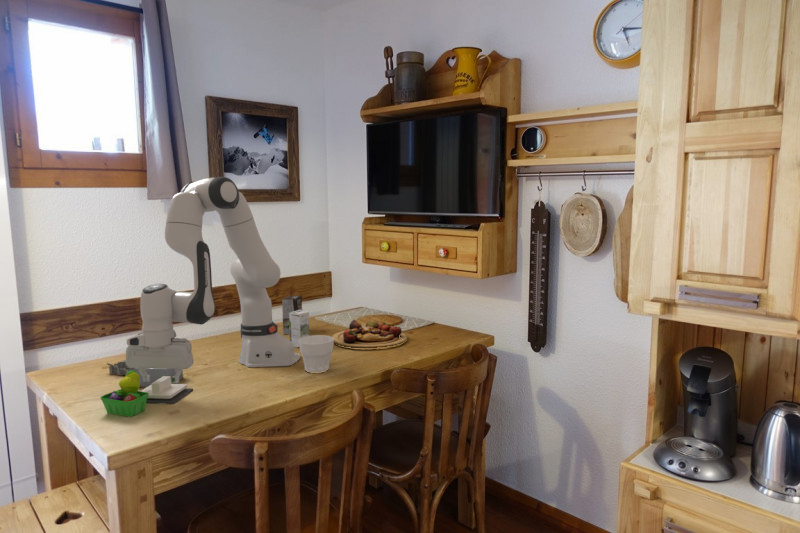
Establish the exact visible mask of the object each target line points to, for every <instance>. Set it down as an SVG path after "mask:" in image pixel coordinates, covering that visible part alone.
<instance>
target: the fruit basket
mask: <svg viewBox="0 0 800 533" xmlns="http://www.w3.org/2000/svg"><path fill="white" fill-rule="evenodd" d="M136 372H137V371H129V372H128V373H127V374H126V375H125V374H124V375H125V376H124V377H123V378H121V379H120V380H119V382H118V385H119V388H120V389H117V390H113V391H112V392H109V393H106V394H104V395H101V396H100V397H99V398H100V400H101V402H102V404H103V406H104V409H105V411H106V413H107V414H109V413H113V414H112V415H115V414H117V415H116V416H121V415H123V417H128V416H129V417H128V418H132V417H134V416H136V415H138V414H141V413H143V412H144V411H145V410H146V406H147V403H146V401H147V397H148V394H149V393H147V392H141V391H142V390H140V391H139V389H140V387H141V386H140V382H139V375H138V374H137V373H136ZM131 416H132V417H131Z"/></svg>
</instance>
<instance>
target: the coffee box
mask: <svg viewBox="0 0 800 533" xmlns="http://www.w3.org/2000/svg"><path fill="white" fill-rule="evenodd" d="M302 298H303V296H302V295H287V296H286V297H283V298H282V299H281V301H282V302H281V304H282V305H281V306H282V335H284V334H290V321H289V313H290V312H294V311H297V310H303V299H302Z"/></svg>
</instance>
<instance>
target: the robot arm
mask: <svg viewBox="0 0 800 533" xmlns="http://www.w3.org/2000/svg"><path fill="white" fill-rule="evenodd" d="M215 211H216V213H218V215H219V217H220V221H221V225H222V228H223V231H224V233H225V237H226V239H227V242H228V245H229V248H231V250H232V251H233V252H234V254H235V255H236V257H237V258H235V259H234V260H232V262H231V264H230V274H231V276H232V278H233V279H234V282H235V286H236V290H237V292H238V293H237V295H238V299H239V302H240V317H241V323H240V338H241V349H240V355H239V359H238V362H239V363H240V364H241V365H244V366H245V367H248V368H258V367H259V368H260V367H261V368H263V367H265V368H266V367H267V368H268V367H269V368H270V367H289V366H292V365H295V364H296V363H298V362H299V361H300V360H301V358H300V357H301V353H299V352H295V348H294V347H293V344H292V342H291V341H290V338H289V339H288V338H287V337H285V335H284V334H281V333H280V332H279V331H278V330H279V329H278V327H279V323H275V322H274V321H273V307H272V299H271V298H270V296H269V294H268V291H267V289H266V288H271V287H275V285H276V284H277V283H279V281H280V280H281V279H280V278H281V274H282V273H281V269H280V266H279V265H278V264H277V263H276V261H275V260H274V258H272V256H271V254H270V252H269V251H268V249H267V247H266V246H265V244H264V242H263V241H262V238H261V236H260V233H259V230H258V227H257V224H256V221H255V218H254V215H253V212H252V210H251V208H250V206H249V204H248V202H247V199H246V198H245V196H244V194H243V193H242V192H241V191H239V189H238V187H237V185H236V183H235V182H234V181H233V180H232V179H230V178H229V177H225V176H216V177H207V178H206V177H205V178H202V179H200V180H195V181H190V182H188V183H187V184H185V185H184V186H183V187H182V188H181V189H180V192H177V193H175V194H174V195H173V196H172V198H171V200H170V203H169V207H168V211H167V215H166V220H165V226H164V227H165V228H164V238H165V240H164V241H165V242H166V244H167V246H168V247H169V248H170V249H171V250H172V251H174V252H176V253H177V254H179V255H181V256H184V257H186V258H187V259H188V260H190V262H191V264H192V266H193V287H194V289H193V291H177V290H174V289H171V288H169V285H167V284H165V283H155V284H150V285H147V286H146V287H144V288H142V290H141V293H140V302H139V304H140V305H139V306H140V318H141V320H142V326H141V332H140V333H137V334H135V335H133V336H130V337H129V338H127V339H126V344H127V347H126V348H125V360H126V364H127V366H128V367H129V368H138V369H139V373H140V374H141V375H142V377H143V382H149V381H150V375H148V374H147V372H146V371H145V370H146V369H147V368H156V369H175V372H177V373H176V375H175V376H174V377H172V383H174V384H179V383H180V380H179V376H180V374H181V372H182V369H183V370H188V369H190V368H191V367H192V366H193V365H194V356H193V352H192V350H193V349H192V342H191V341H190V340H188V339H187V338H184V337H183V338H176V337H175V338H174V331H173V330H174V324H173V322H175V323H189V324H195V325H200V326H201V325H204V324H206V323H207V322H209V321H210V320H211V319H212V317H213V316H214V314H215V310H216V302H215V298H214V295H213V294H214V293H213V282H212V281H213V280H212V278H213V277H212V262H211V253H210V248H209V245H208V244H207V243H206V242H205V241H204V238H203V232H202V231H203V216H204V214H205V213H207V212H215ZM299 359H300V360H299ZM298 360H299V361H298ZM297 361H298V362H297ZM295 362H296V363H295ZM294 363H295V364H294Z"/></svg>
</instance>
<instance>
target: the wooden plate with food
mask: <svg viewBox="0 0 800 533" xmlns="http://www.w3.org/2000/svg"><path fill="white" fill-rule="evenodd" d="M348 327H349V328H348V329H346V330H342V331H339V332H336V333H334V334H333V335H332V336H331V337H333V338H334V343H335V344H337V345H340V346H344V347H351V348H377V347H387V346H393V345H397V344H401V343H403V342H405V341H406V340H407V338H408V336H407V335H406V334H405V333H403V331H402V328H401V326H394V325H393V324H386V322H385V321H384V322H381V323H379V322H378V321H377V320H375V319H374V318H371V319H370V320H368V321H367V322H366V324H365V326H364V327H363V325H362V323H361V322H360V321H359V320H358V319H356V318H355V319H353V320H351V322H350V323H349V326H348ZM399 335H400V337H401V338H400V339H399ZM398 339H399V340H398ZM407 341H408V340H407ZM335 344H334V345H335ZM337 345H336V346H337Z"/></svg>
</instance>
